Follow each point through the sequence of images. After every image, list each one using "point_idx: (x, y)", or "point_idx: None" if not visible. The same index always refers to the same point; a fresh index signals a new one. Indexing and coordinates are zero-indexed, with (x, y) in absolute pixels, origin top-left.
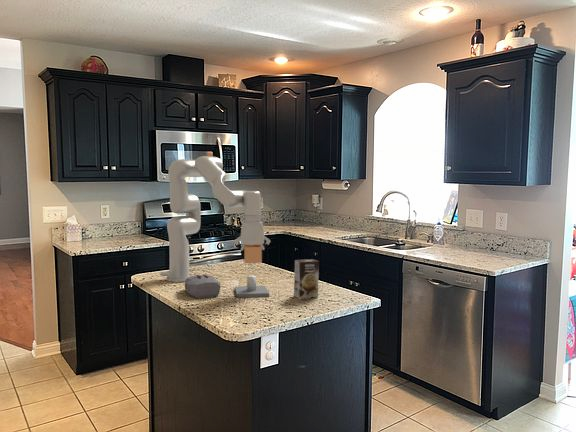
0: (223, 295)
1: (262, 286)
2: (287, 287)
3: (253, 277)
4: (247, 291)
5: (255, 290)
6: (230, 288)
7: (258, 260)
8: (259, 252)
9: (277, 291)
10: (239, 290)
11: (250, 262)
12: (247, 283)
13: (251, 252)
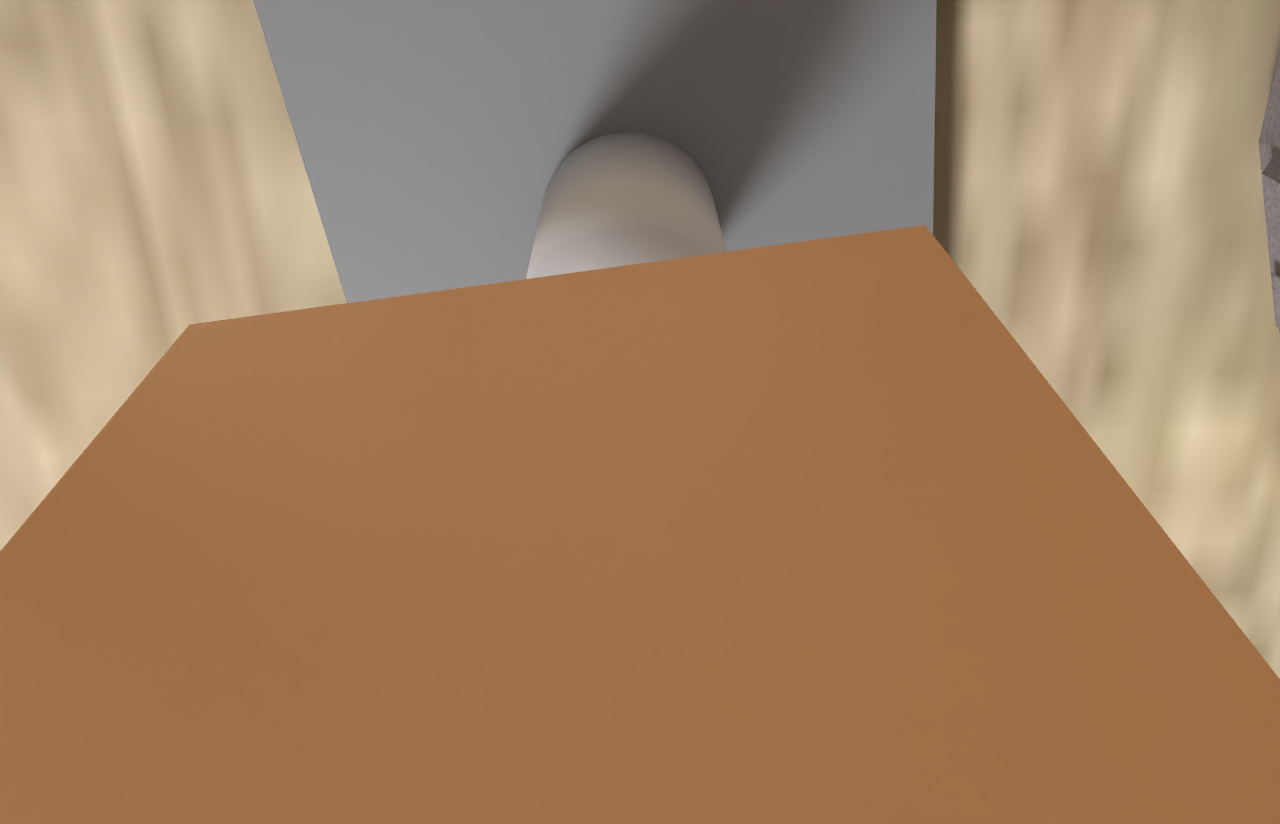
0: (1167, 9)
1: None
2: None
3: (578, 235)
4: (706, 74)
5: (548, 161)
6: None
7: (298, 355)
8: (70, 634)
9: (178, 319)
10: (865, 155)
11: (676, 274)
12: (719, 229)
13: (642, 576)
